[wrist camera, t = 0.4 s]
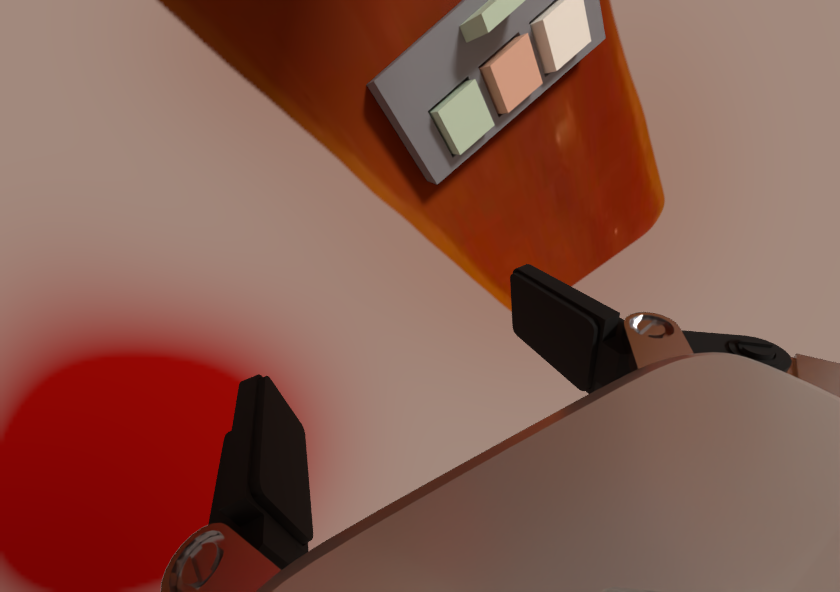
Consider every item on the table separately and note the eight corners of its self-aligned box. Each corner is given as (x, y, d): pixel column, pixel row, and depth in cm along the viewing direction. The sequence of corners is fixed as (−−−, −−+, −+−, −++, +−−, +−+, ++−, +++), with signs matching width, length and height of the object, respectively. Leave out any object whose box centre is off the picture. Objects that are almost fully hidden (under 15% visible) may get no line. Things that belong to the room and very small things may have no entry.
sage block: (447, 153, 36) (460, 155, 34) (425, 112, 34) (437, 111, 31) (479, 125, 36) (494, 125, 34) (460, 82, 34) (475, 78, 31)
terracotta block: (492, 114, 36) (508, 113, 34) (473, 70, 33) (490, 65, 31) (524, 86, 36) (542, 83, 34) (508, 40, 33) (527, 32, 31)
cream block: (536, 75, 36) (556, 71, 34) (522, 28, 33) (542, 19, 31) (568, 47, 36) (591, 40, 34) (557, -3, 33) (580, -14, 31)
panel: (427, 181, 39) (452, 190, 33) (366, 84, 32) (385, 75, 26) (584, 43, 38) (638, 29, 32) (558, -85, 31) (620, -132, 25)
